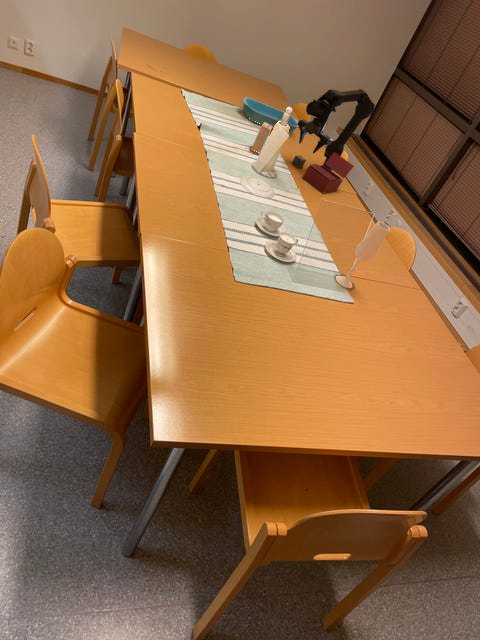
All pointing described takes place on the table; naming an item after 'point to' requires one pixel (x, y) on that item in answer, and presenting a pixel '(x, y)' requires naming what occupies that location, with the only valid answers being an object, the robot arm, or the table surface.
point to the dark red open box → (322, 178)
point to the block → (298, 161)
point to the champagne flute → (366, 249)
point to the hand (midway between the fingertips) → (306, 148)
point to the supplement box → (261, 137)
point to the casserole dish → (265, 114)
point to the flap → (339, 165)
